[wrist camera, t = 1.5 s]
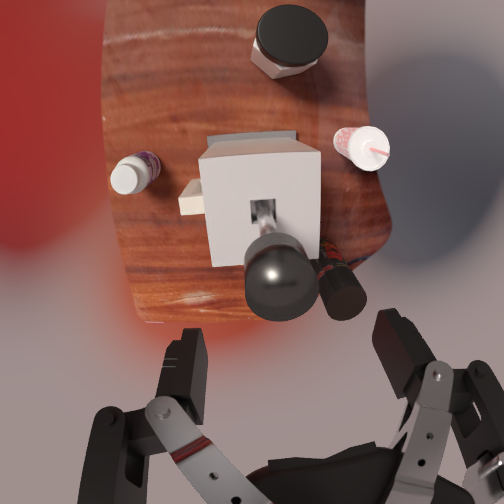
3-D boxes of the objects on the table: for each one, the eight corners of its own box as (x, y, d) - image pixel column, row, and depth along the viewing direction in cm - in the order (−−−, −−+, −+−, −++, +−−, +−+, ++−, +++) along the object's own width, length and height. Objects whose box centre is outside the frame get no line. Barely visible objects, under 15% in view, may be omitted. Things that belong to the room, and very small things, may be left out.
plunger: (216, 167, 27) (191, 226, 13) (301, 161, 27) (364, 214, 13) (224, 244, 31) (215, 352, 17) (302, 238, 31) (346, 338, 17)
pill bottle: (167, 172, 42) (149, 188, 34) (140, 188, 43) (118, 207, 35) (151, 143, 40) (129, 152, 32) (125, 160, 41) (99, 173, 32)
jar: (298, 86, 37) (320, 76, 26) (245, 73, 36) (248, 57, 25) (311, 37, 33) (335, 14, 22) (259, 23, 32) (266, -6, 21)
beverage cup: (365, 157, 42) (410, 177, 30) (331, 162, 43) (367, 183, 30) (361, 121, 40) (407, 128, 27) (326, 125, 40) (362, 130, 27)
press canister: (193, 137, 40) (161, 153, 24) (293, 130, 40) (330, 141, 24) (202, 216, 46) (183, 277, 30) (296, 209, 46) (327, 266, 30)
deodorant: (297, 254, 50) (317, 307, 37) (321, 231, 48) (351, 278, 35) (319, 273, 52) (343, 326, 39) (342, 251, 50) (374, 300, 37)
